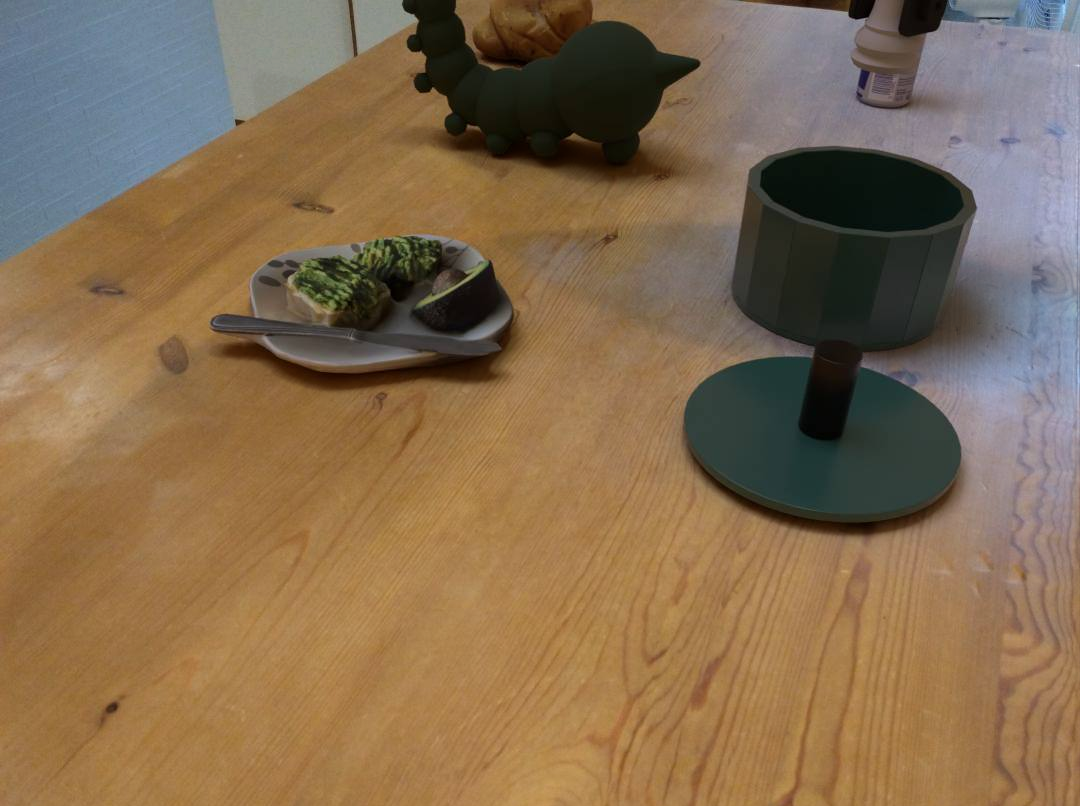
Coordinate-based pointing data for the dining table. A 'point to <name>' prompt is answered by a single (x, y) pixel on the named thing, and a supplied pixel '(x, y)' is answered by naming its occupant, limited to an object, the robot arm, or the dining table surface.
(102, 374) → the dining table surface
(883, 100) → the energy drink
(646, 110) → the toy figurine
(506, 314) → the avocado toast plate
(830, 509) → the lid
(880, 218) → the pot
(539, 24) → the bread roll
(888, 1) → the rook chess piece
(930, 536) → the dining table surface
